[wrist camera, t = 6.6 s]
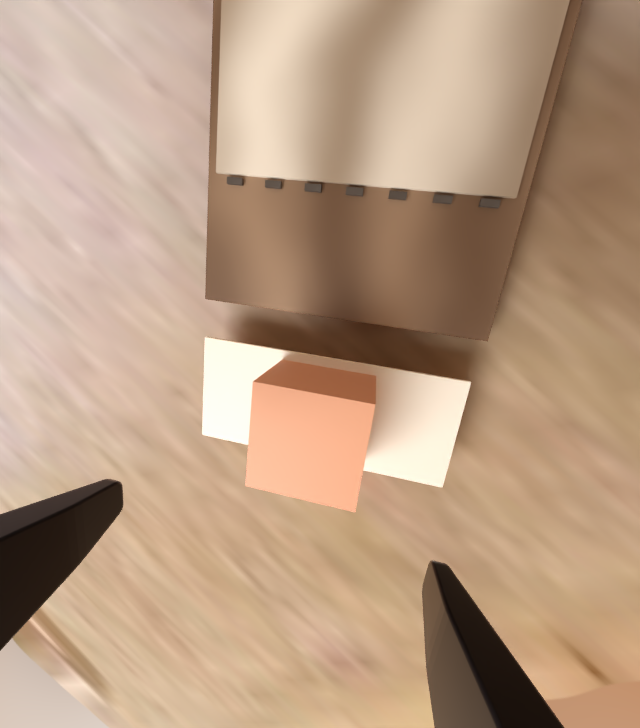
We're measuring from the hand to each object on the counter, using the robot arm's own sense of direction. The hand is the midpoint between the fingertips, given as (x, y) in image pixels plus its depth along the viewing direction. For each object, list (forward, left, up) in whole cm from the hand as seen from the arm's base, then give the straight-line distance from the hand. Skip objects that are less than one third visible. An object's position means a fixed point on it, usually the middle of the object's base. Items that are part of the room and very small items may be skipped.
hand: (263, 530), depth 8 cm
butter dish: (0, 0, -9) cm, 9 cm away
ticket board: (0, -14, -11) cm, 18 cm away
